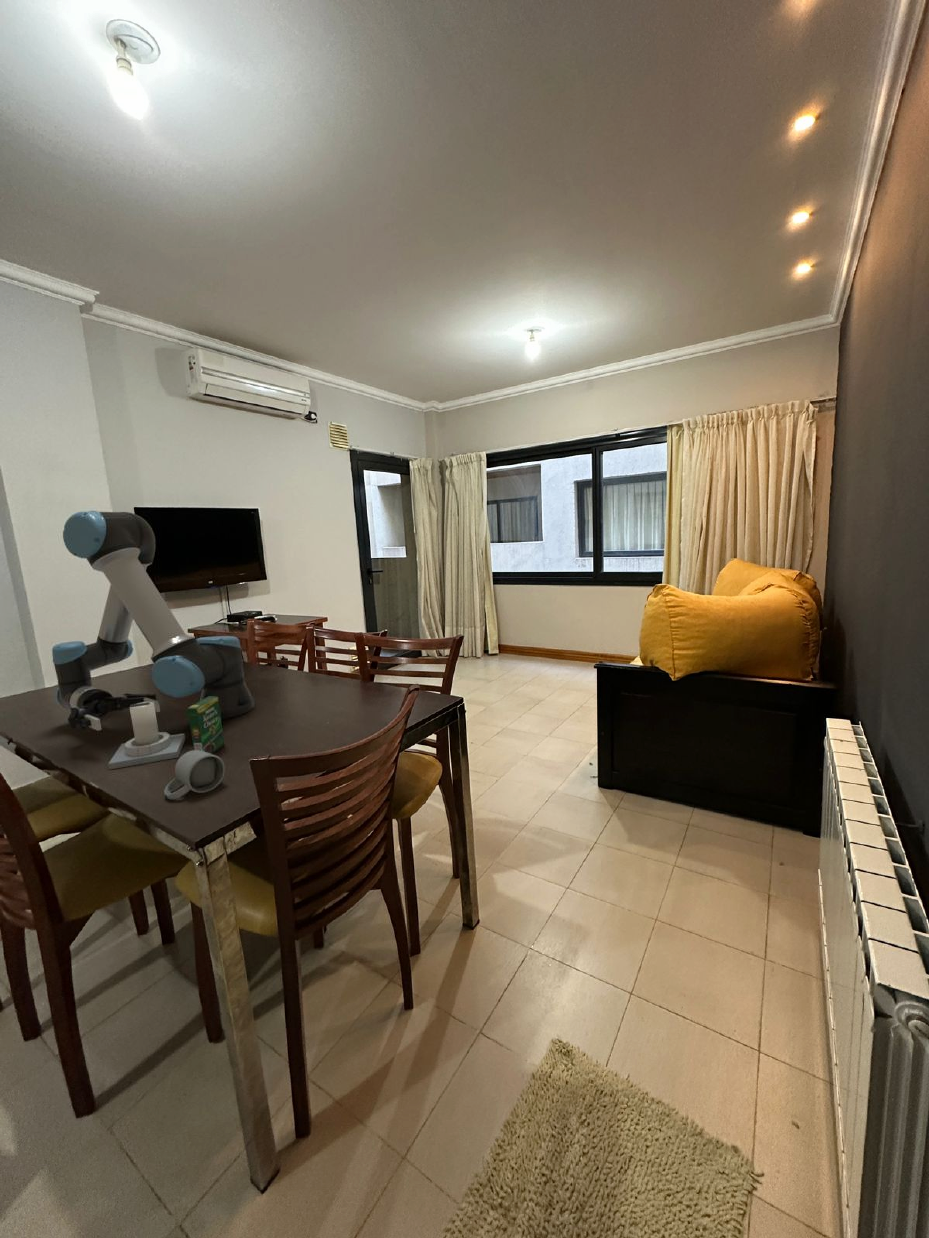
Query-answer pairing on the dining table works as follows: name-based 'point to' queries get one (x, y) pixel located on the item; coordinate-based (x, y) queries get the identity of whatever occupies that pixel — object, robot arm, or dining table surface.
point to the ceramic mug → (196, 773)
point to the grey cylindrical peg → (144, 723)
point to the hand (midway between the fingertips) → (129, 715)
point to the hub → (147, 751)
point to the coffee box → (206, 725)
